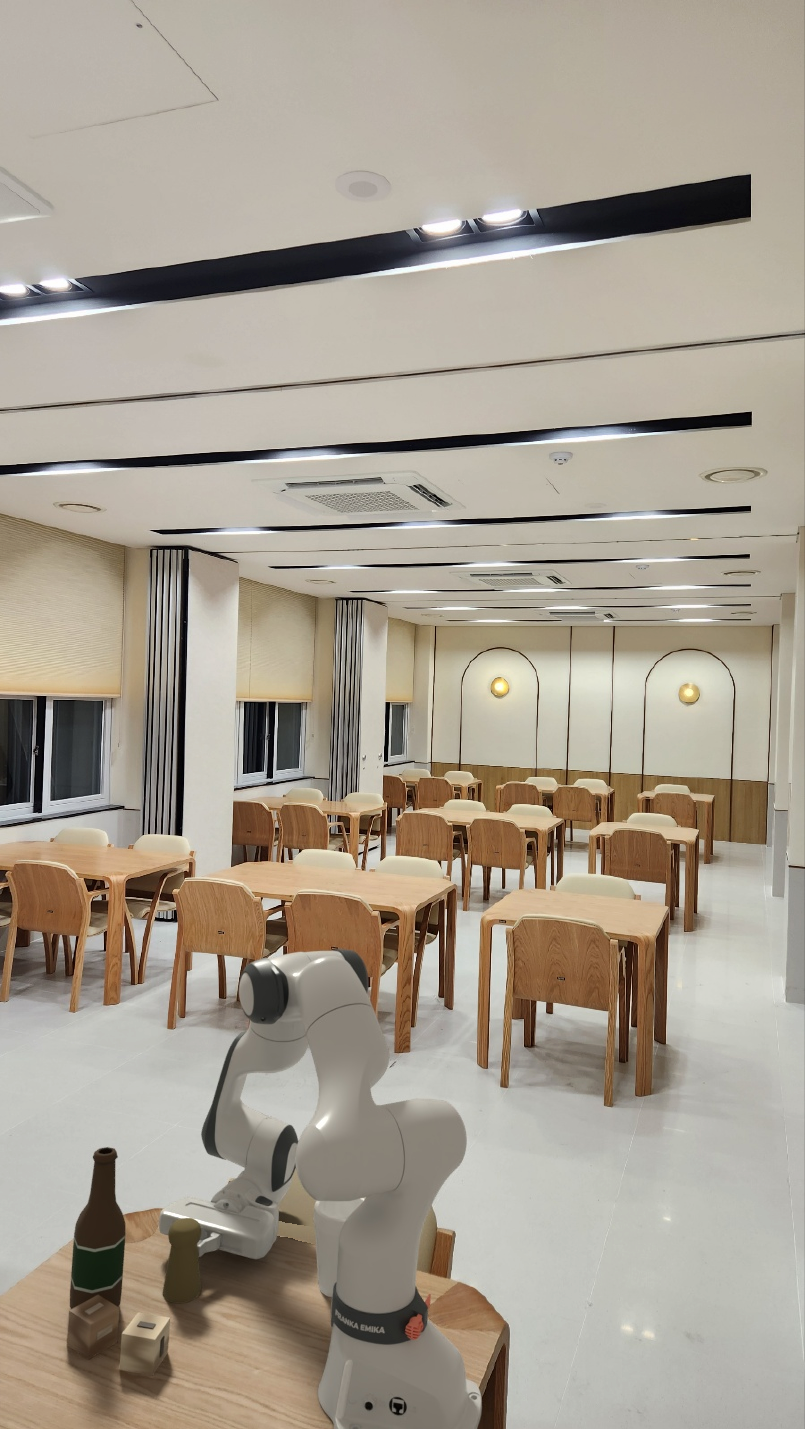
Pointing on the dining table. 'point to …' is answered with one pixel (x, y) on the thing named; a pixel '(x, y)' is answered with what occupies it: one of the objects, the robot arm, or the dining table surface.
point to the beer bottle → (99, 1238)
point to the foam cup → (330, 1238)
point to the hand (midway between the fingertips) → (191, 1250)
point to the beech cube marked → (144, 1343)
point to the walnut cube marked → (93, 1326)
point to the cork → (183, 1262)
